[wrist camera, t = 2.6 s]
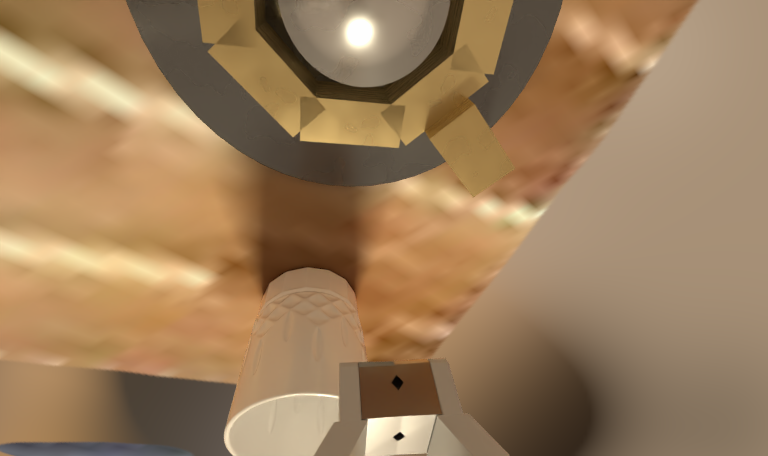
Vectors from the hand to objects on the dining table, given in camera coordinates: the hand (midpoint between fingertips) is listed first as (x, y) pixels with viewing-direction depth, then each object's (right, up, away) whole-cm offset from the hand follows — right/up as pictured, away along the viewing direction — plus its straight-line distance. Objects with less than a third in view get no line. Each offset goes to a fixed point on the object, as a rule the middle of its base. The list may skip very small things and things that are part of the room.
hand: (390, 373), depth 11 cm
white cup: (-6, -1, +18) cm, 19 cm away
